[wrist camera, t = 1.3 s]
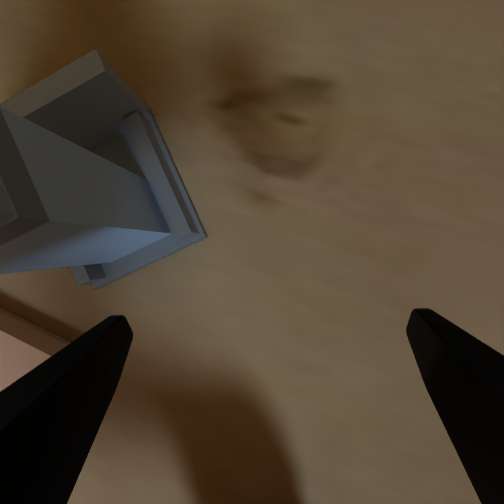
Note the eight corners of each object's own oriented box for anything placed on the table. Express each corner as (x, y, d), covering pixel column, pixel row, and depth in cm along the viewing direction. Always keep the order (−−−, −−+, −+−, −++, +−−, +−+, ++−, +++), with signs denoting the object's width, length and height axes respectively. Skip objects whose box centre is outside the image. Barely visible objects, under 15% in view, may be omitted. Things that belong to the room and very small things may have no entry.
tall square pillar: (172, 233, 22) (18, 217, 9) (111, 262, 22) (-117, 287, 9) (148, 179, 22) (-40, 83, 9) (88, 210, 22) (-171, 162, 9)
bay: (207, 237, 22) (178, 233, 15) (98, 288, 23) (27, 305, 17) (149, 106, 22) (95, 48, 16) (43, 163, 23) (-49, 132, 17)
